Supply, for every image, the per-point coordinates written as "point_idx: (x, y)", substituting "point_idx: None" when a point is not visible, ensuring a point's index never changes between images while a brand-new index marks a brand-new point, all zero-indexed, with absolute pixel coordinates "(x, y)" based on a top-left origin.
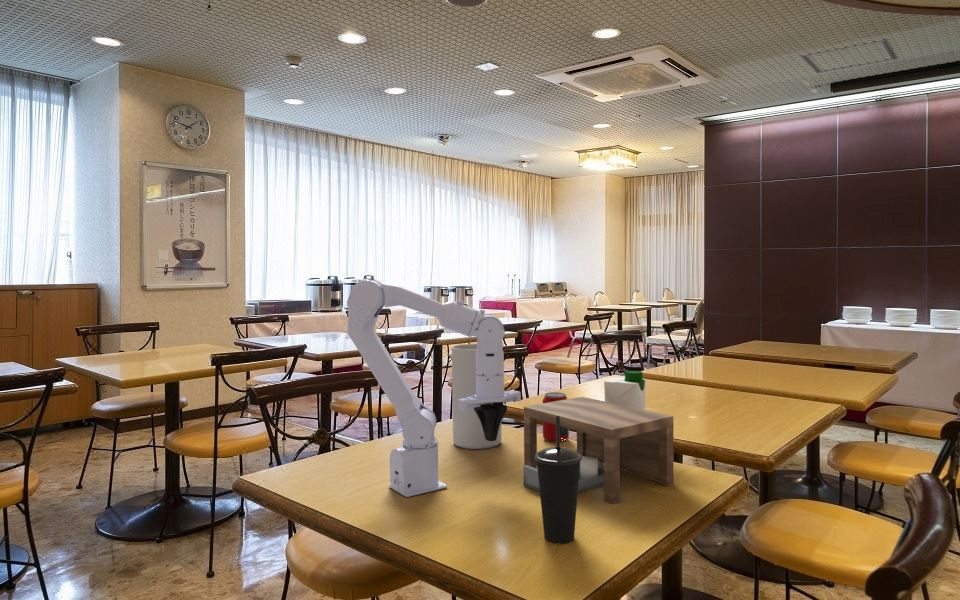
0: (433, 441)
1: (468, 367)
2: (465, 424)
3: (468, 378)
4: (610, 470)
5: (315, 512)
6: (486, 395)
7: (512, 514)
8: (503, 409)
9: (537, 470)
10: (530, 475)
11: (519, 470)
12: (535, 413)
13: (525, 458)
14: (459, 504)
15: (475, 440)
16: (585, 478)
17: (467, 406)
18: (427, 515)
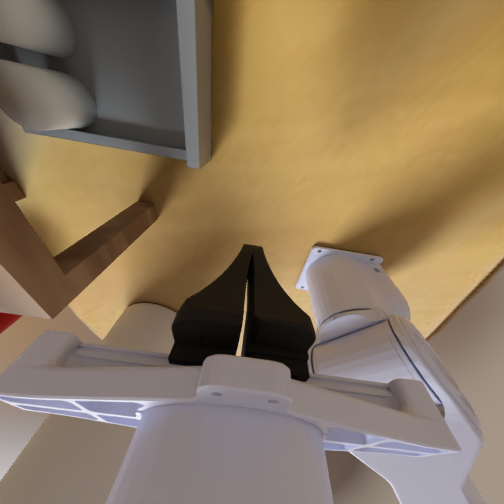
0: (354, 320)
1: (104, 485)
2: (170, 348)
3: (121, 447)
4: None
5: (475, 293)
6: (320, 456)
7: (381, 14)
8: (213, 307)
9: (191, 107)
10: (203, 136)
11: (167, 221)
12: (27, 265)
13: (145, 226)
14: (371, 178)
15: (168, 320)
16: (56, 5)
17: (383, 395)
18: (450, 181)
